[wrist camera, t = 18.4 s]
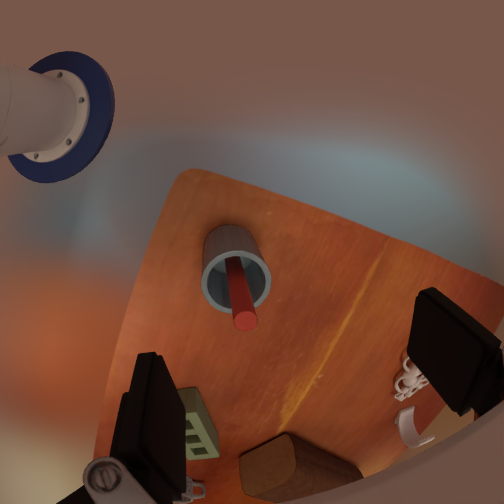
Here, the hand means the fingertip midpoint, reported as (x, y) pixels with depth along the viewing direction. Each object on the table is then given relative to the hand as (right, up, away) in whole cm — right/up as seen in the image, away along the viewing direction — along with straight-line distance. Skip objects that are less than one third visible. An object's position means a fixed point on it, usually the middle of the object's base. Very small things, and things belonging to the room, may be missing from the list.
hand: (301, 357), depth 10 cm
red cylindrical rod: (-4, +3, +30) cm, 30 cm away
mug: (-19, -56, +50) cm, 78 cm away
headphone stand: (+38, -39, +52) cm, 75 cm away
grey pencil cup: (-5, +4, +30) cm, 31 cm away
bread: (+12, -52, +53) cm, 76 cm away
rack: (-13, -28, +41) cm, 51 cm away
